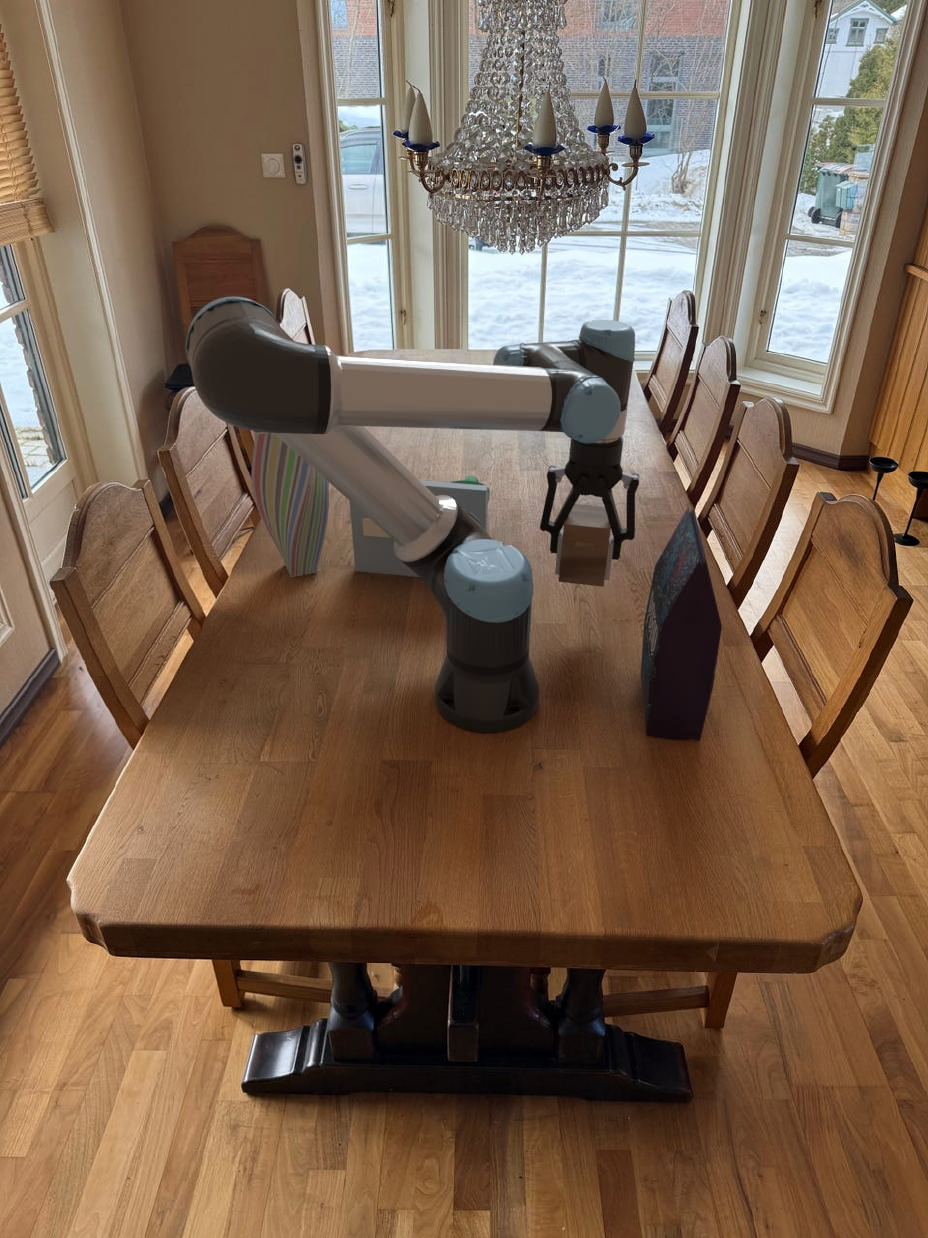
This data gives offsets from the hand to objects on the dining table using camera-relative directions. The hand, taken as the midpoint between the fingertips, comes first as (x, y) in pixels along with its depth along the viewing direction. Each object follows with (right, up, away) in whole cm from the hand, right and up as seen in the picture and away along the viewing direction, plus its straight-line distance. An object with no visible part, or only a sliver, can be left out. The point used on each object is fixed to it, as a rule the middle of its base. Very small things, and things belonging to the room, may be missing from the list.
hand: (582, 573), depth 138 cm
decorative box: (+11, -20, -11) cm, 25 cm away
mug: (-18, +10, +35) cm, 40 cm away
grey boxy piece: (-26, +2, +22) cm, 34 cm away
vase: (-49, +2, +22) cm, 54 cm away
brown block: (0, 0, +1) cm, 1 cm away
